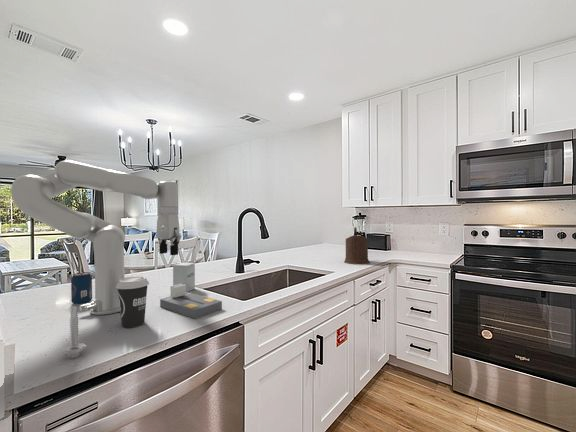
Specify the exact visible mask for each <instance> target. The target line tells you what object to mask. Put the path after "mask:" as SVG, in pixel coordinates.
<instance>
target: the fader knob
mask: <svg viewBox="0 0 576 432" xmlns="http://www.w3.org/2000/svg"><path fill="white" fill-rule="evenodd" d="M183 295H186V285H185V284H178V285H174V286H173V285H172V286H171V285H170V296H171V297H174V298H175V297H179V296H183Z"/></svg>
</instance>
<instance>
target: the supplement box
mask: <svg viewBox="0 0 576 432" xmlns="http://www.w3.org/2000/svg"><path fill="white" fill-rule="evenodd" d="M195 265H196V264H195V262H180V263H176V264H173V265H172V286H174V285H178V284H185V285H186V292H189V293H190V292H191V291H192V290H195V288H196V287H195V286H196V278H195V277H196V276H195V275H196V273H195V271H196V269H195V268H196V266H195Z"/></svg>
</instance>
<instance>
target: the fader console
mask: <svg viewBox="0 0 576 432" xmlns="http://www.w3.org/2000/svg"><path fill="white" fill-rule="evenodd" d="M159 299H160V300H159V305H160V306H159V307H160V308H162V309H165V310H168V311H171V312H175V313H177V314H180V315H183V316H186V317H189V318H192V319H195V320H196V319H198V318H202V317H205V316H206V315H210V314H212V313H215V312H218V311H221V310H222V309H223V301H222V300H218V299H214V298H211V297H208V296H204V295H201V294H200V295H199V294H196V293H192V292H190V291H189V292H186V295H183V296H179V297H175V298H174V297H171V295H169V296H166V297H164V298H159Z"/></svg>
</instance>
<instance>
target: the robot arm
mask: <svg viewBox="0 0 576 432" xmlns="http://www.w3.org/2000/svg"><path fill="white" fill-rule="evenodd" d="M77 187H80V188H86V189H92V190H95V191H99V192H106V193H107V192H108V193H120V194H126V195H131V196H135V197H140V198H141V199H143V200H151V199H152V200H154V199H157V203H158V207H157V211H158V214H157V219H156V220H157V221H156V238H157V241H158V244H159V254H161V255H163V254H168V243H167V242H168V240H169V241H170V245H169V248H170V249H169V250H170V251H169V253H170V256H177V255H179V244H180V242H181V238H182V235H181V233H180V220H179V186H178V183H177V182H175V181H171V180H170V181H169V180H166V181H165V180H164V181H159V182H156V181H155V180H153V179H151V178H148V177H145V176H141V175H140V176H139V175H136V174H132V173H127V172H121V171H116V170H113V169H107V168H103V167H99V166H94V165H91V164H88V163H83V162H78V161H74V160H69V159H68V160H61V161H59V162H58V163H56V165H54V168H53V171H52V172H49V173H47V174H44V175H42V176H39V175H35V174H24V175H20V176H17V178H15V180H13V182H12V184H11V187H10V188H11V189H10V195H11V199H12V201H13V203H14V204H15V206H16V207H17V208H18V209H19V210H20V211H21V212H22V213H23V214H24V215H26V216H27V217H30V218H32V219H34V220H36V221H38V222H40V223H42V224H44V225H46V226H49V227H51V228H52V229H55V230H57V231H60V232H62V233H64V234H66V235H68V236H70V237H72V238H75V239H85V240H86V241H89V242H91V243H92V244H93V245H92V247H93V255H94V257H93V259H94V295H95V297H94V298H92V299H91V301H90V302H89V303H86V304H81V305H79V311H85V310H86V311H90V313H91V314H92V315H95V316H96V315H97V316H100V315H101V316H102V315H103V316H104V315H110V314H111V315H113V314H115V313H119V312H120V303H119V295H118V289H117V288H116V285H117V283H118V282H119V280H120V279H123V278H125V248H124V247H125V239H126V234H125V232H124V231H123V229H122V228H120V227H118V226H117V225H115V224H112V223H111V222H108V221H106V220H104V219H102V218H100V217H97V216H96V215H93V214H91V213H88V212H81V211H78V210H75V209H74V208H71V207H69V206H66V205H65V204H63V203H62V202H61V203H60V201H59V202H58V201H56V200H54V199H53V198H55V197H58V196H59V195H62V194H64V193H67V192H68V191H71V190H72V189H75V188H77ZM120 313H121V312H120Z"/></svg>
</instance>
